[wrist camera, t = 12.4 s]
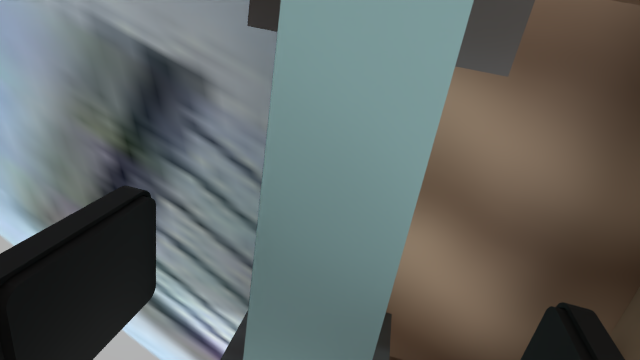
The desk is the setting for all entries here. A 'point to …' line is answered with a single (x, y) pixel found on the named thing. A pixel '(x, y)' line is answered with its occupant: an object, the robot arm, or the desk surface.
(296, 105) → the door panel
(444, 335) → the cabinet
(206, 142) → the desk surface
